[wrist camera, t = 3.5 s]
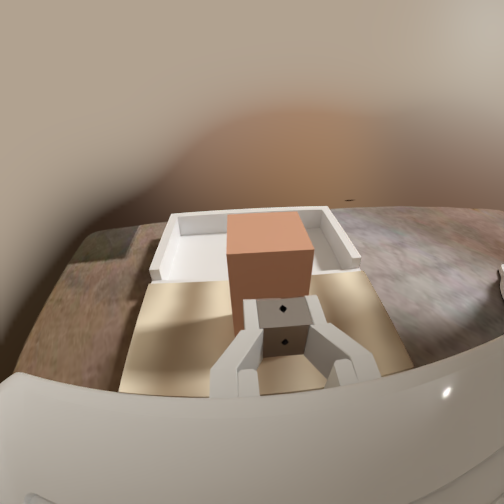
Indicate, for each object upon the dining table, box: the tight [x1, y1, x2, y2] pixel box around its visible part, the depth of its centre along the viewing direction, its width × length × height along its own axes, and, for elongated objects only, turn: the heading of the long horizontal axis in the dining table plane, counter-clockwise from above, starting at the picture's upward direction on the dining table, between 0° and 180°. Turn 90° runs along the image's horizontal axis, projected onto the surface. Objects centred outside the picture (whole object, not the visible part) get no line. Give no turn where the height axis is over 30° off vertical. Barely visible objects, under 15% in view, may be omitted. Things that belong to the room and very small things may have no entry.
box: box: [149, 206, 362, 284], centre depth 36 cm, size 24×15×4 cm, turn 94°
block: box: [226, 211, 315, 337], centre depth 20 cm, size 5×5×10 cm
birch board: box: [118, 271, 414, 398], centre depth 25 cm, size 24×13×3 cm, turn 94°
